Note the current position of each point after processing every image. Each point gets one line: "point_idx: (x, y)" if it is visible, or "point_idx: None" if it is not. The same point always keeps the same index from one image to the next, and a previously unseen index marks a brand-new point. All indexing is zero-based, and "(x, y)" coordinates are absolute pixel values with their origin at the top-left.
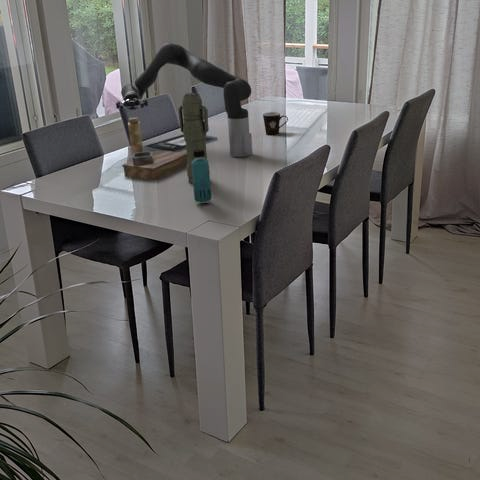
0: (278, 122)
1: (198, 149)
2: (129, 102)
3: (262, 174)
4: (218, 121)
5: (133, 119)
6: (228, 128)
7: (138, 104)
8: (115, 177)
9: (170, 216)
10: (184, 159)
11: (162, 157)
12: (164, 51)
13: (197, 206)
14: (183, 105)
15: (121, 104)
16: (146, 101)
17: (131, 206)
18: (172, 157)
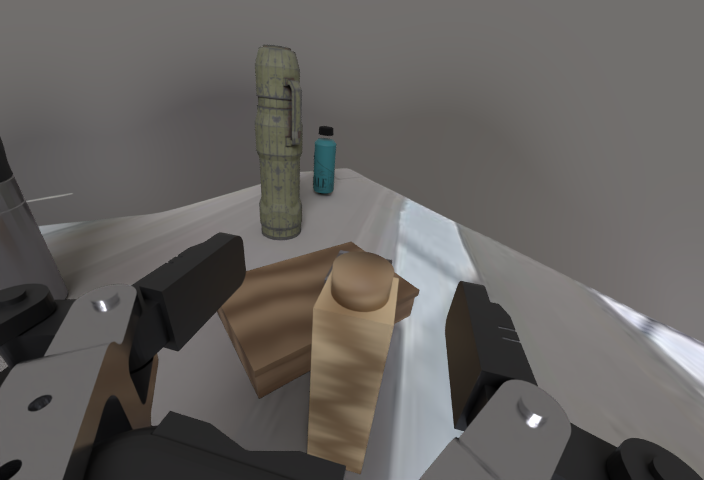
0: None
1: (325, 126)
2: (315, 463)
3: (179, 212)
4: None
5: (367, 252)
6: (5, 228)
7: (136, 424)
8: (435, 319)
9: (368, 191)
10: None
11: (295, 287)
12: None
13: (332, 193)
14: (299, 75)
15: (488, 302)
16: (45, 294)
17: (405, 215)
18: (272, 274)
